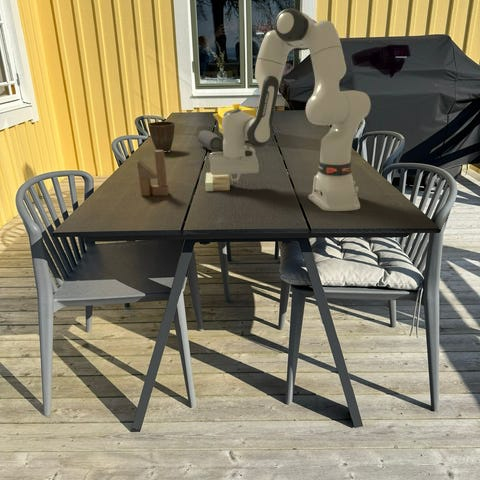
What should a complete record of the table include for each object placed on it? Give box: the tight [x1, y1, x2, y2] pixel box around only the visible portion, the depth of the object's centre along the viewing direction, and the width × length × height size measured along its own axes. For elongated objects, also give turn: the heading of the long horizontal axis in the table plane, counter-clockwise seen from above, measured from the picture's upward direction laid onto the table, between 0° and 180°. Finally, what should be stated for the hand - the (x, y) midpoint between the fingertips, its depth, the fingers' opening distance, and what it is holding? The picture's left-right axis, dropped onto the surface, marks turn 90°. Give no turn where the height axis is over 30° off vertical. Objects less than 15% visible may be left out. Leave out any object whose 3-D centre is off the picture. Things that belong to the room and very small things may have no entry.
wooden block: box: [137, 149, 170, 197], centre depth 171 cm, size 4×11×18 cm, turn 87°
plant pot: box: [147, 121, 175, 151], centre depth 245 cm, size 15×15×16 cm
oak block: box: [212, 174, 231, 191], centre depth 181 cm, size 8×7×4 cm
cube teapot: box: [212, 103, 257, 134], centre depth 278 cm, size 35×30×21 cm
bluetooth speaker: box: [197, 129, 223, 152], centre depth 248 cm, size 23×9×10 cm, turn 22°
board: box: [204, 172, 214, 192], centre depth 184 cm, size 16×3×4 cm, turn 2°
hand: (234, 183), depth 181 cm, fingers closed
